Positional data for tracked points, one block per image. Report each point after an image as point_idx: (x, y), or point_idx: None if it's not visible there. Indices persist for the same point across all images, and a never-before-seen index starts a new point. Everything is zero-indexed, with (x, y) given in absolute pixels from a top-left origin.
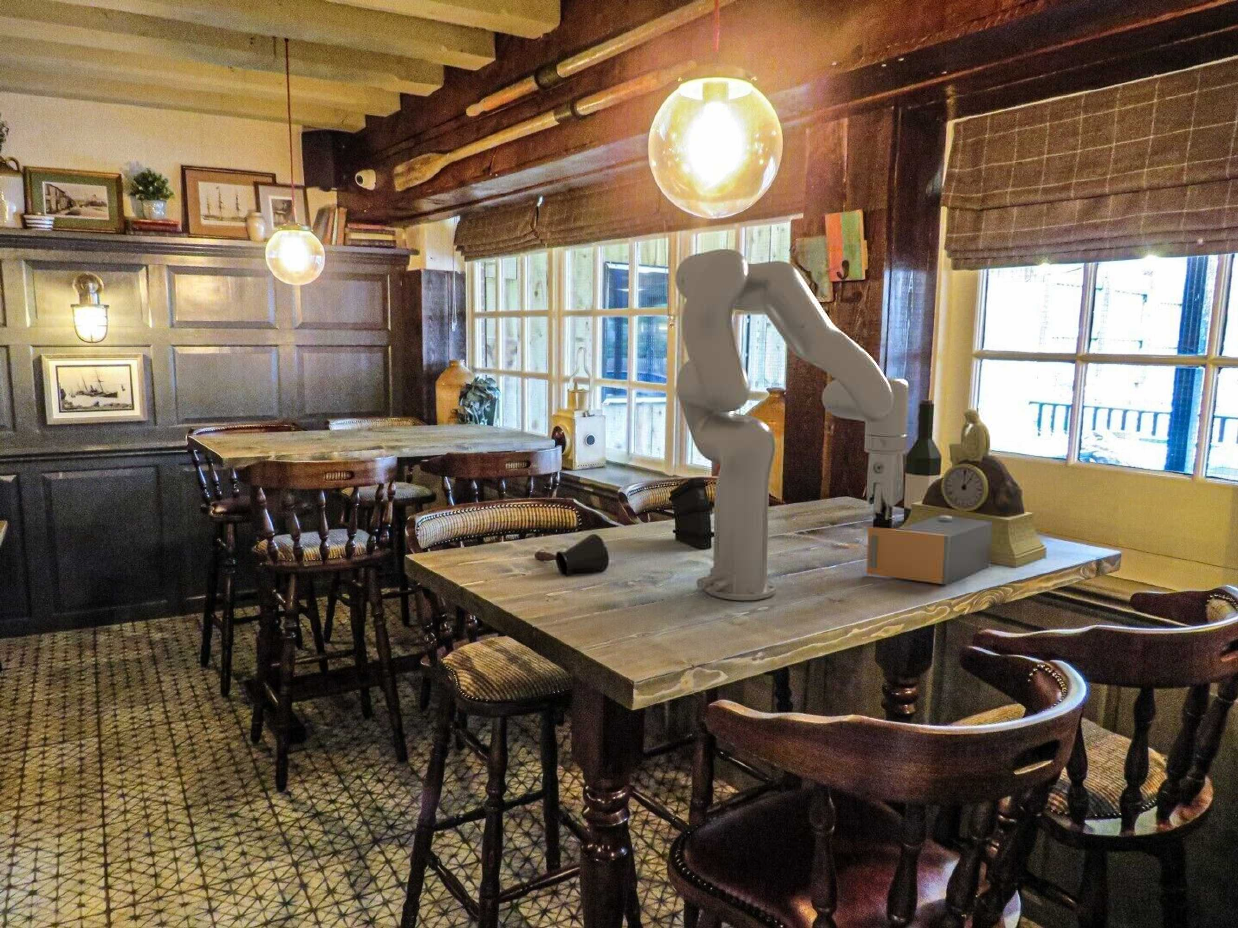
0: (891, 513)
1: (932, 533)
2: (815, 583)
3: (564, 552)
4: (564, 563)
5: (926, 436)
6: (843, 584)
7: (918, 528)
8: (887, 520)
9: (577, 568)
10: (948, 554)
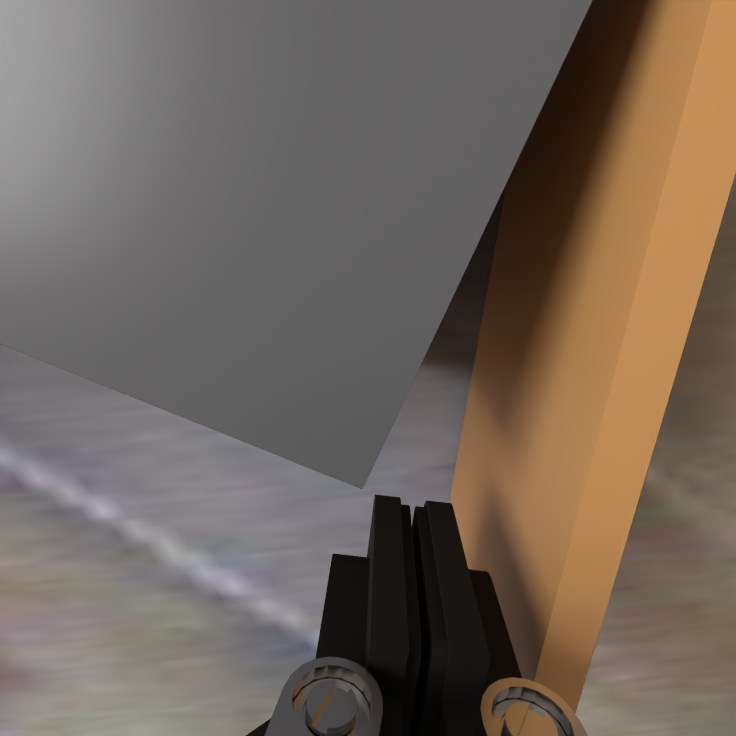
0: (290, 717)
1: (713, 1)
2: (680, 677)
3: None
4: None
5: None
6: (663, 571)
7: (251, 261)
8: (479, 682)
9: None
10: None
